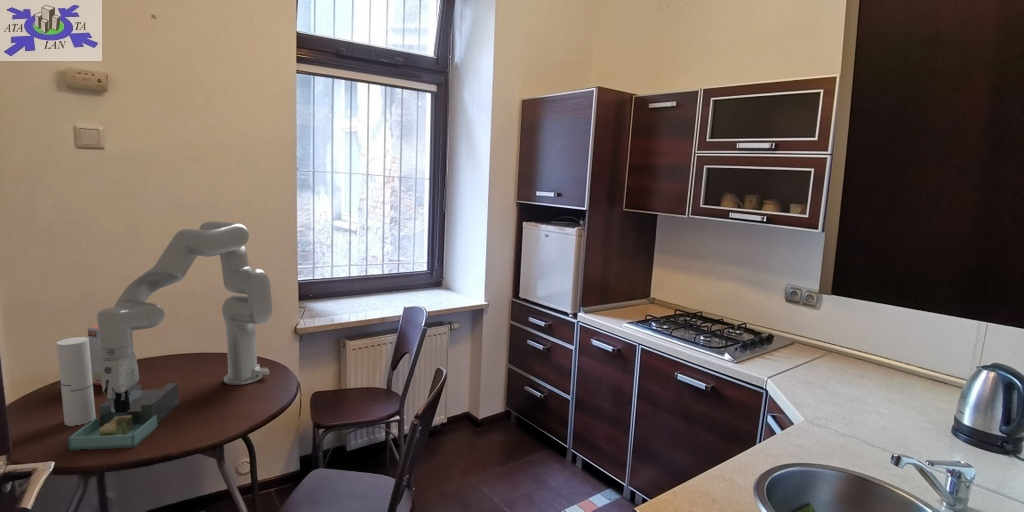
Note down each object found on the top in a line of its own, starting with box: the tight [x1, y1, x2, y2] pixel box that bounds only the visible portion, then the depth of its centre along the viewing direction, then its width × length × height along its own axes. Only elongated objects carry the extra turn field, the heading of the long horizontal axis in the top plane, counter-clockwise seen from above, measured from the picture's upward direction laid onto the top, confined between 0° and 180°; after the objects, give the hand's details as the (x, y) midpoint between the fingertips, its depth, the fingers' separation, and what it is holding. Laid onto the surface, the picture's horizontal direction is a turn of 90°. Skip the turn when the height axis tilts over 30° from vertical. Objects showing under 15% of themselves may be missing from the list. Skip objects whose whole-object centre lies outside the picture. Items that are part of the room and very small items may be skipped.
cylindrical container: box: [56, 336, 97, 427], centre depth 152 cm, size 7×7×25 cm
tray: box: [67, 416, 158, 451], centre depth 144 cm, size 16×12×4 cm
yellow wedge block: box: [109, 415, 133, 435], centre depth 146 cm, size 4×4×4 cm
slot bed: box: [99, 382, 180, 426], centre depth 157 cm, size 14×16×7 cm
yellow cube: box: [99, 422, 124, 436], centre depth 142 cm, size 4×4×4 cm
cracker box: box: [87, 324, 102, 387], centre depth 178 cm, size 14×6×21 cm, turn 71°
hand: (122, 411), depth 147 cm, fingers closed
